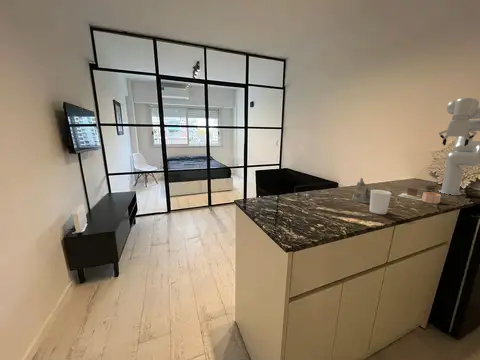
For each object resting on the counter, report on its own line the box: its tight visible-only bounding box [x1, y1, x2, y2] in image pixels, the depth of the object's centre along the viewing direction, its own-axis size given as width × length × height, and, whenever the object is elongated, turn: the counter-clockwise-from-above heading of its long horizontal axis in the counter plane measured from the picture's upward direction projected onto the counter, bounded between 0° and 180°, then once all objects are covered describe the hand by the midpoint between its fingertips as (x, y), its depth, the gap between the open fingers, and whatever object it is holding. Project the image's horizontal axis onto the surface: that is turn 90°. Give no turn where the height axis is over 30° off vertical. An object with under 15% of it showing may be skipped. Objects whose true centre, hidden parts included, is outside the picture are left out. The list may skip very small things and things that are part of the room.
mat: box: [397, 193, 422, 201], centre depth 147 cm, size 13×13×1 cm
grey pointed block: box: [351, 177, 377, 204], centre depth 139 cm, size 16×16×15 cm
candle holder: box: [368, 189, 392, 215], centre depth 118 cm, size 10×10×12 cm
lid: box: [401, 186, 422, 200], centre depth 146 cm, size 11×11×6 cm
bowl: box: [421, 191, 442, 205], centre depth 135 cm, size 8×8×6 cm
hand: (454, 145), depth 136 cm, fingers open, 9 cm apart
